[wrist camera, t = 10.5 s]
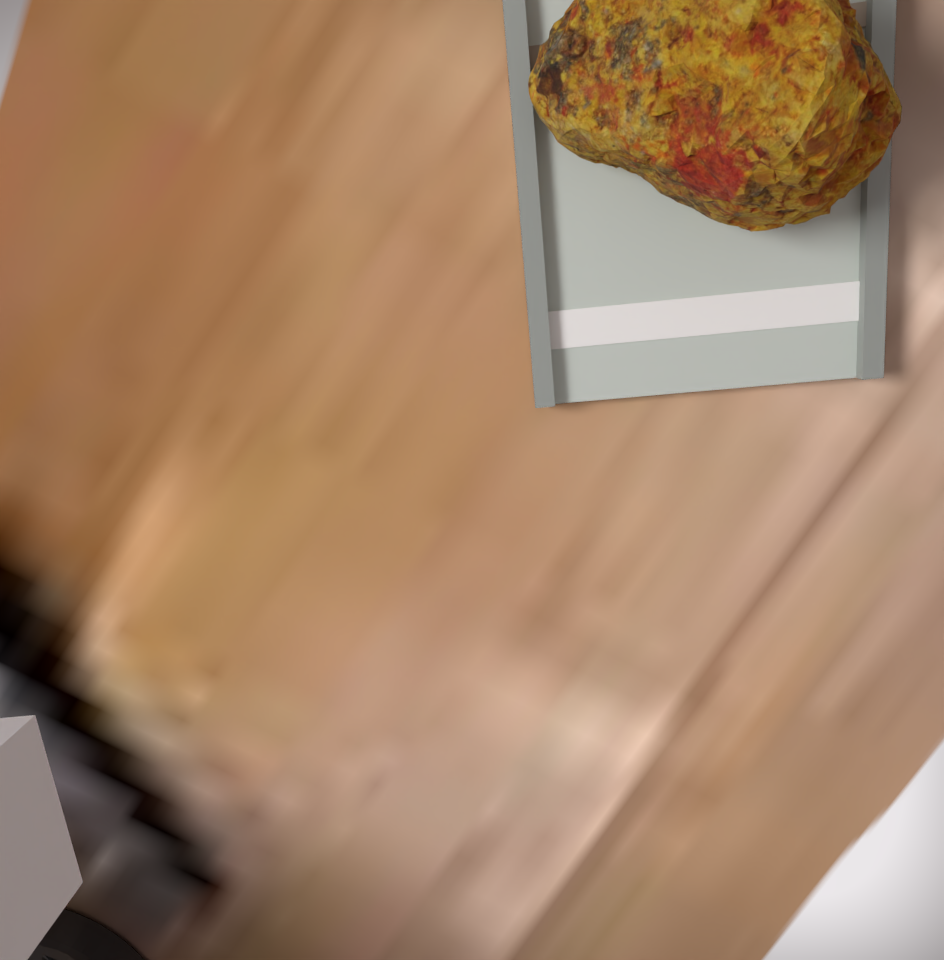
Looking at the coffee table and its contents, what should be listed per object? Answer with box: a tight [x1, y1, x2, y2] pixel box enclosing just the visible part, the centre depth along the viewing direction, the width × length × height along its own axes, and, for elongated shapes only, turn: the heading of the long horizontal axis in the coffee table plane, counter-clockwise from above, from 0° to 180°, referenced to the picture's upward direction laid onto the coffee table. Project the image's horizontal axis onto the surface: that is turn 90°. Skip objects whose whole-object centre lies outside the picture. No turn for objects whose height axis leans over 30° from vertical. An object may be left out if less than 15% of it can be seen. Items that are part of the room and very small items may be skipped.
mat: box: [503, 0, 897, 408], centre depth 29 cm, size 14×18×1 cm
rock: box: [528, 0, 902, 232], centre depth 26 cm, size 11×8×10 cm
